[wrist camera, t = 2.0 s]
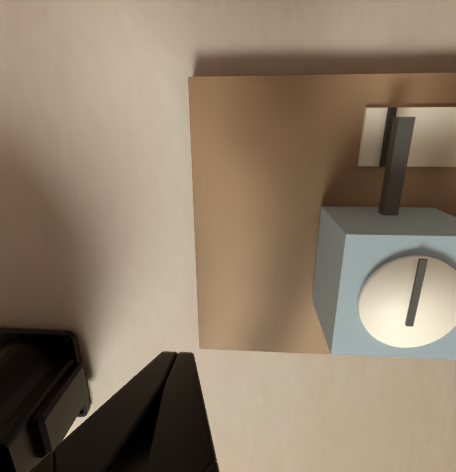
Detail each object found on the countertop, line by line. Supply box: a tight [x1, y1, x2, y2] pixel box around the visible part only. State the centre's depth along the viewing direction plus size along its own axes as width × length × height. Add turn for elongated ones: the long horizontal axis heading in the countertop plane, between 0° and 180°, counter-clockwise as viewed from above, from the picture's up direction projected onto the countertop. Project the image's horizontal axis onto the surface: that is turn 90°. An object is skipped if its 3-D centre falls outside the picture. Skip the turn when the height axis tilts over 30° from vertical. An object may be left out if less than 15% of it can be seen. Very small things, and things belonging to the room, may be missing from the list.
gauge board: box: [188, 72, 456, 354], centre depth 13 cm, size 22×14×6 cm, turn 90°
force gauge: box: [312, 117, 456, 360], centre depth 12 cm, size 7×9×4 cm
